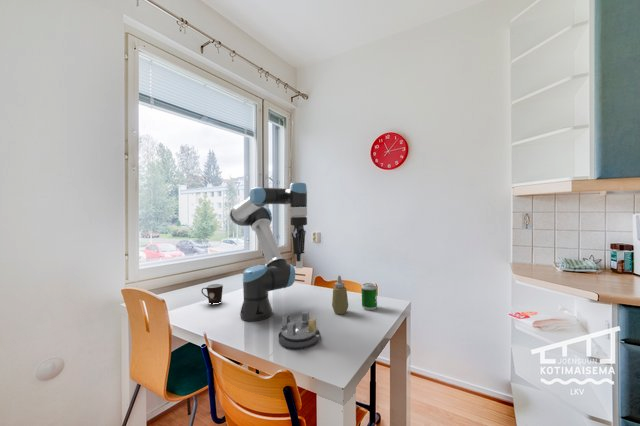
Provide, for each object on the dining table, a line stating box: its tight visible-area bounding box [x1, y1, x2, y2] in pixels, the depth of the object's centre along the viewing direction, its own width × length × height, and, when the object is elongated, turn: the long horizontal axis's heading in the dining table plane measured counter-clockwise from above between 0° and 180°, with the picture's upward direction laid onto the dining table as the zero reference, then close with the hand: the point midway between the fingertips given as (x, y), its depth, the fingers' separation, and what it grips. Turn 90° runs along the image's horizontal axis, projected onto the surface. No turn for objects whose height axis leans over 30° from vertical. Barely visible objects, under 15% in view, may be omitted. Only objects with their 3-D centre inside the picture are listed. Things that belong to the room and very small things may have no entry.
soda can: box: [360, 282, 378, 311], centre depth 132 cm, size 8×8×12 cm
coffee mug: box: [201, 283, 224, 304], centre depth 148 cm, size 12×9×10 cm
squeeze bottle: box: [331, 275, 349, 315], centre depth 128 cm, size 8×8×18 cm
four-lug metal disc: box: [281, 310, 318, 342], centre depth 102 cm, size 14×14×6 cm
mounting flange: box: [278, 328, 321, 351], centre depth 102 cm, size 16×16×2 cm
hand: (299, 267), depth 120 cm, fingers closed
